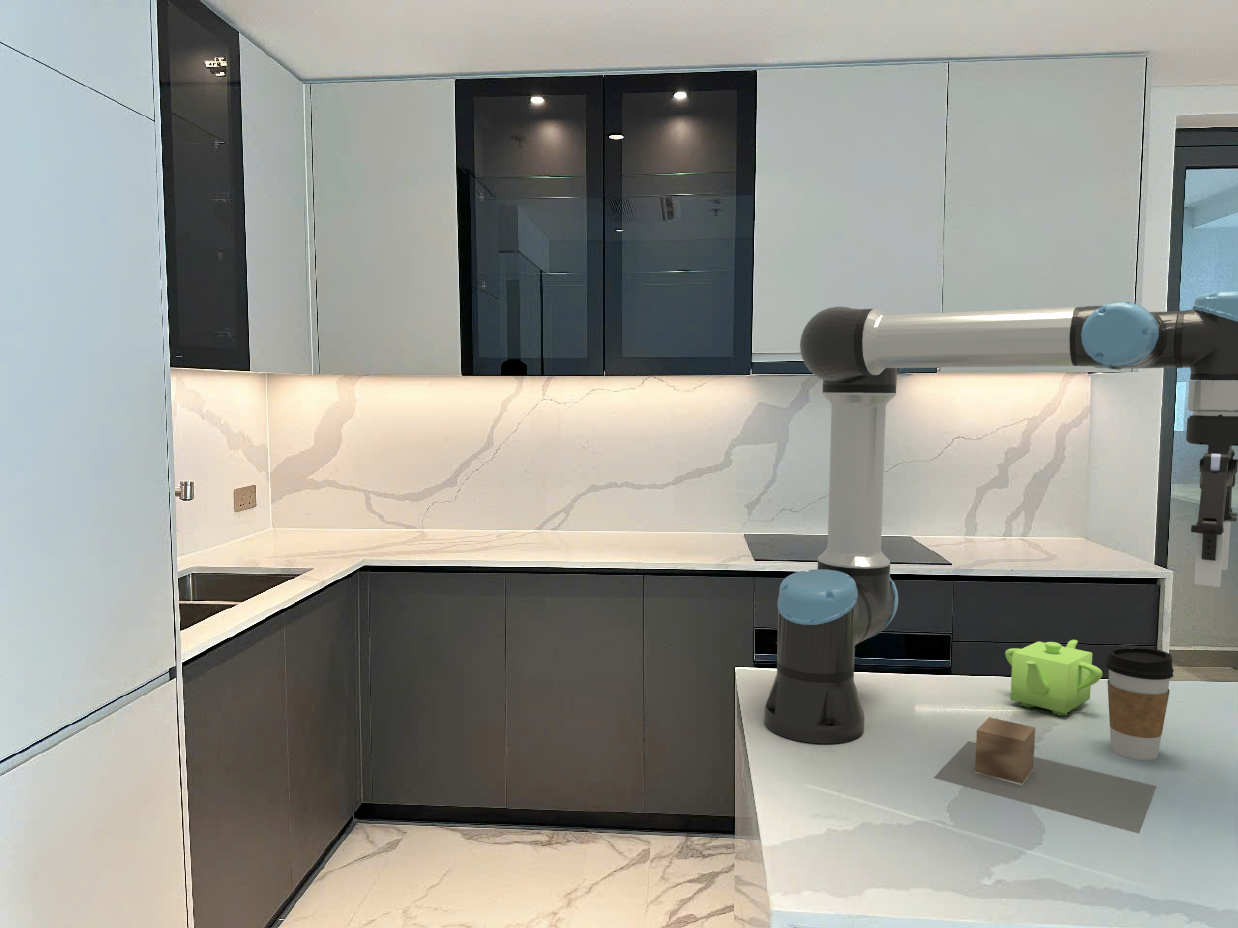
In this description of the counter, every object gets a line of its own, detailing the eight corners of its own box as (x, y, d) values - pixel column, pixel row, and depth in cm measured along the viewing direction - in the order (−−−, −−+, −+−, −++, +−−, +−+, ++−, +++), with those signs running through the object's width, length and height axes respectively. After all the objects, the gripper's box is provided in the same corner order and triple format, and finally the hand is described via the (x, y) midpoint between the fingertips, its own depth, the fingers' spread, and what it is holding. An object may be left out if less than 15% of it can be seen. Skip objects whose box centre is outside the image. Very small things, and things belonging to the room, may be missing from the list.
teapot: (1073, 692, 154) (1076, 632, 153) (1118, 720, 141) (1122, 655, 140) (986, 691, 154) (989, 631, 153) (1024, 720, 140) (1027, 655, 139)
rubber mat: (933, 779, 118) (933, 777, 118) (968, 742, 131) (968, 740, 131) (1139, 835, 104) (1139, 833, 104) (1156, 788, 116) (1156, 785, 116)
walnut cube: (974, 773, 120) (976, 729, 119) (987, 758, 125) (989, 717, 124) (1022, 785, 116) (1024, 740, 116) (1033, 770, 121) (1035, 727, 120)
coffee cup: (1178, 768, 123) (1185, 662, 121) (1112, 762, 124) (1118, 658, 123) (1154, 744, 131) (1160, 645, 130) (1092, 739, 133) (1098, 642, 131)
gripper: (1254, 416, 102) (1241, 597, 104) (1261, 413, 122) (1250, 565, 123) (1177, 415, 106) (1166, 588, 108) (1196, 412, 126) (1187, 558, 128)
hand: (1211, 576), depth 116 cm, fingers open, 13 cm apart
